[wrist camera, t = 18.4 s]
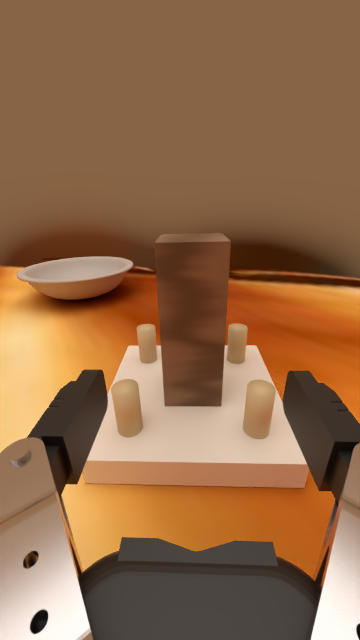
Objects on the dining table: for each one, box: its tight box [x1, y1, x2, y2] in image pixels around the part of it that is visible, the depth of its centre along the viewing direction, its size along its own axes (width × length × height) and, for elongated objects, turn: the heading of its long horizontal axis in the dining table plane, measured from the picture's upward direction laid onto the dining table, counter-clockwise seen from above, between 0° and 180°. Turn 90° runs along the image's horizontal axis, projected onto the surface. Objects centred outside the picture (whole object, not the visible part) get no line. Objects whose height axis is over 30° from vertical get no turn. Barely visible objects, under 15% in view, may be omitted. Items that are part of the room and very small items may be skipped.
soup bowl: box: [17, 257, 133, 300], centre depth 59 cm, size 24×24×7 cm
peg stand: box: [82, 323, 309, 488], centre depth 25 cm, size 16×16×6 cm
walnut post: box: [155, 233, 231, 407], centre depth 22 cm, size 5×5×14 cm
